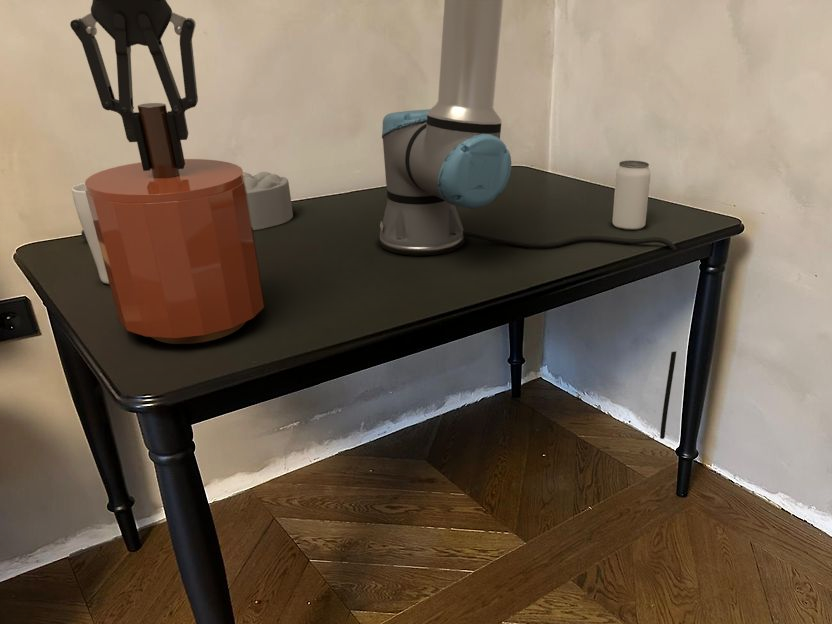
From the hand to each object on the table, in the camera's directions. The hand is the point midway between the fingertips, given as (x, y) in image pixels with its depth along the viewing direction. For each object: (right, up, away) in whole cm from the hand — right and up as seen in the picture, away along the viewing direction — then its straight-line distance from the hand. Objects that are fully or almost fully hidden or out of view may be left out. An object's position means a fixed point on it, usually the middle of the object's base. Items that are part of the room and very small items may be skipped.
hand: (164, 166), depth 96 cm
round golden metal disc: (0, -19, +11) cm, 22 cm away
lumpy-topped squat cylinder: (-5, +5, +54) cm, 54 cm away
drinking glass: (-19, -11, +25) cm, 33 cm away
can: (+67, +3, +53) cm, 85 cm away
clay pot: (0, -17, +9) cm, 20 cm away
